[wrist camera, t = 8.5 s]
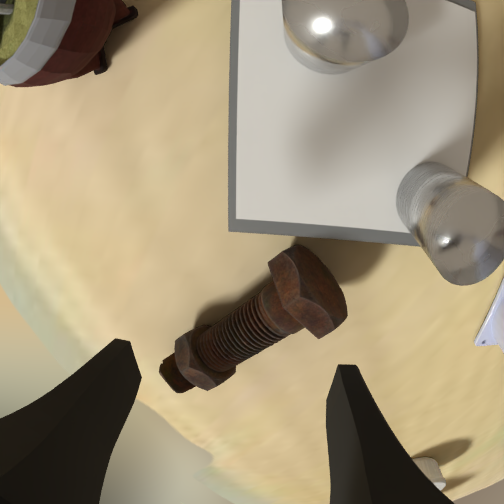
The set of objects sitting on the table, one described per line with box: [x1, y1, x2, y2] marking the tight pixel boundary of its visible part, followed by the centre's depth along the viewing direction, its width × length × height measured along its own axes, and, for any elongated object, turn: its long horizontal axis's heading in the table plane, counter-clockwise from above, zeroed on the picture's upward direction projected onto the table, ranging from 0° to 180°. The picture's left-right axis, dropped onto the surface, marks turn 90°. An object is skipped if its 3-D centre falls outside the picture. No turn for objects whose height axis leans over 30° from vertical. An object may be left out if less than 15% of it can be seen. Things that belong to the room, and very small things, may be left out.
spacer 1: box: [282, 0, 409, 75], centre depth 9 cm, size 4×4×5 cm
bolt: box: [159, 245, 348, 393], centre depth 21 cm, size 6×5×15 cm
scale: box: [228, 0, 478, 247], centre depth 12 cm, size 13×17×4 cm
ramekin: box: [412, 457, 446, 491], centre depth 32 cm, size 11×11×5 cm
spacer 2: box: [396, 162, 504, 285], centre depth 12 cm, size 4×4×5 cm
